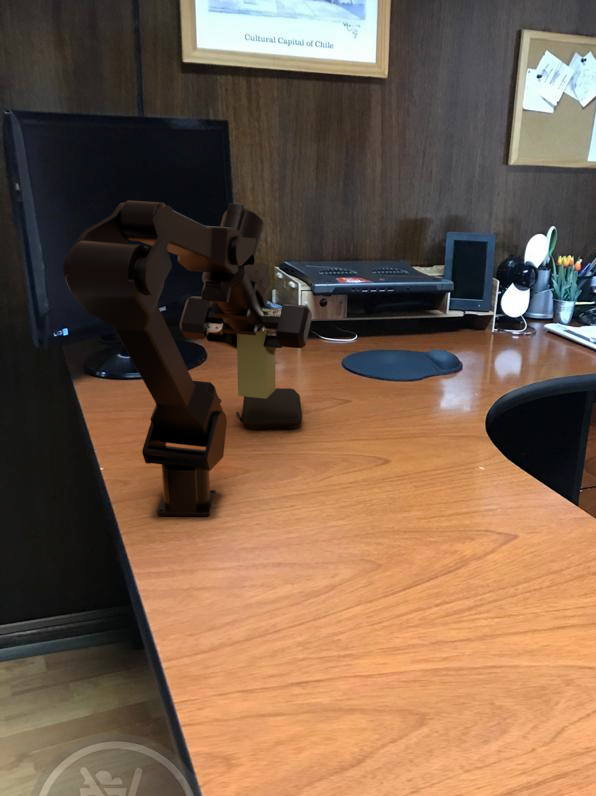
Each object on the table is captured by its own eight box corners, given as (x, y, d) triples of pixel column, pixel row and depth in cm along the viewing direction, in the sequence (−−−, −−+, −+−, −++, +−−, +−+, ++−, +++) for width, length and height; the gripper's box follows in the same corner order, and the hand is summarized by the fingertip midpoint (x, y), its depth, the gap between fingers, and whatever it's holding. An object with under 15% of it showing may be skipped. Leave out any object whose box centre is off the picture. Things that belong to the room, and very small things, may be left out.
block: (266, 398, 119) (265, 316, 115) (238, 395, 120) (235, 313, 115) (275, 389, 124) (274, 309, 119) (248, 387, 124) (246, 307, 120)
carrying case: (238, 401, 136) (235, 432, 122) (238, 385, 135) (234, 414, 121) (299, 401, 137) (303, 432, 124) (299, 385, 136) (303, 414, 123)
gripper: (309, 250, 108) (326, 311, 123) (183, 241, 111) (214, 302, 125) (293, 317, 104) (313, 373, 118) (163, 306, 107) (197, 362, 121)
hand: (259, 350), depth 121 cm, fingers closed on block, 4 cm apart
